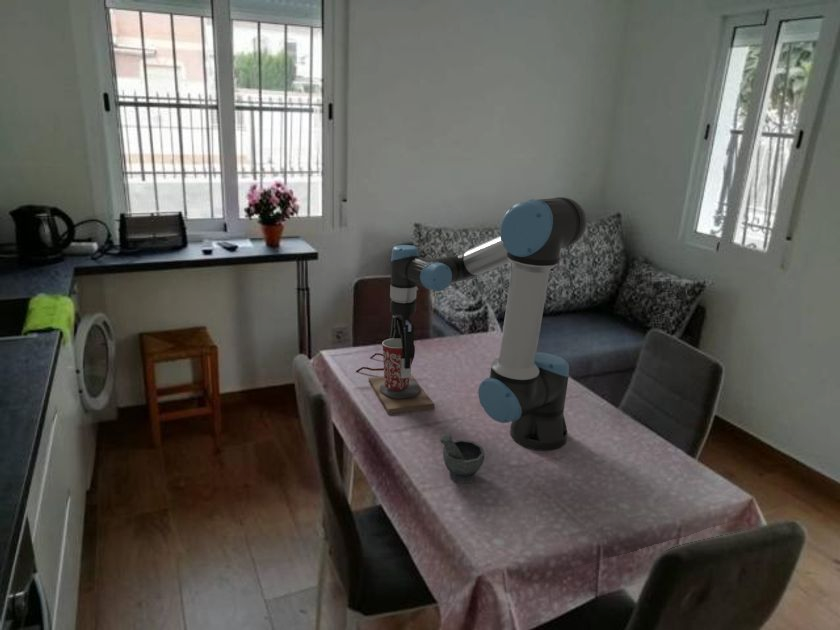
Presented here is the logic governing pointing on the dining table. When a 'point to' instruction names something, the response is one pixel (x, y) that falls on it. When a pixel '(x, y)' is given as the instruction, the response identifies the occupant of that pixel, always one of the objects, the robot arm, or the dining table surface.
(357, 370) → the glasses
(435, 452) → the dining table surface
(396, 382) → the mug
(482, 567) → the dining table surface
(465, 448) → the mortar and pestle
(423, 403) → the board
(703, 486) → the dining table surface
